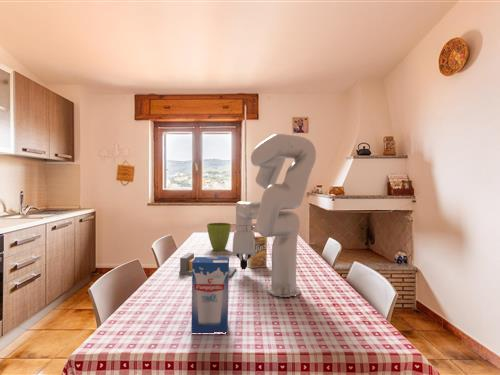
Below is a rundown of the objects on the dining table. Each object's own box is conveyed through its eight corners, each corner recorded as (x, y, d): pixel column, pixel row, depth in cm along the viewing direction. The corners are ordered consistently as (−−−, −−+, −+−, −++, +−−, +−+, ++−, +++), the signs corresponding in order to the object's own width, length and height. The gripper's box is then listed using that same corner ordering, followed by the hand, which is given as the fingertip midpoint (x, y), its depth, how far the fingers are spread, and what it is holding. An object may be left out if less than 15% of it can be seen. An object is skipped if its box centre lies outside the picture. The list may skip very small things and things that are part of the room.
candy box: (249, 268, 148) (250, 237, 148) (247, 266, 152) (247, 235, 152) (266, 267, 151) (267, 236, 151) (263, 265, 155) (264, 235, 155)
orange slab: (191, 269, 140) (191, 261, 140) (188, 269, 140) (188, 261, 140) (195, 266, 145) (195, 258, 145) (192, 266, 145) (192, 258, 145)
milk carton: (228, 324, 90) (229, 257, 89) (227, 334, 83) (228, 262, 83) (194, 324, 89) (195, 256, 89) (191, 334, 83) (191, 262, 83)
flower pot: (202, 251, 184) (202, 225, 184) (212, 246, 198) (212, 222, 198) (225, 253, 180) (225, 226, 179) (233, 248, 194) (234, 223, 194)
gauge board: (230, 277, 133) (230, 261, 133) (179, 274, 137) (179, 258, 137) (236, 270, 145) (236, 255, 145) (188, 267, 149) (188, 252, 149)
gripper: (261, 228, 141) (261, 267, 141) (229, 227, 143) (229, 265, 143) (259, 230, 133) (258, 271, 133) (226, 229, 136) (225, 270, 136)
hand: (243, 268), depth 138 cm, fingers closed
